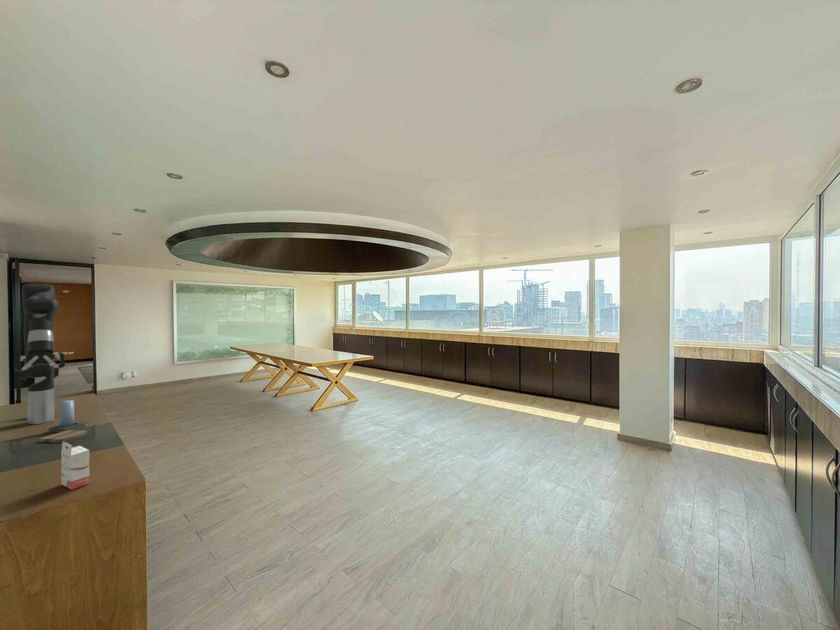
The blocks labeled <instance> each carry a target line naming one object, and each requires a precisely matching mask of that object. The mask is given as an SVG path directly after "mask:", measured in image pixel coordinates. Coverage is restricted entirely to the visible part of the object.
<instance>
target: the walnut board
mask: <svg viewBox="0 0 840 630" xmlns="http://www.w3.org/2000/svg"><path fill="white" fill-rule="evenodd" d="M84 434H85V435H87V434H88V431H87V430H77V429H75V430H65V431H62V432H54V433H52V434H49V435H46V436H44V437H40V438H38V442H39V443H59V442H62V443H63V442H64V441H65V442H68V441H70V439H71V440H73V438H74V439H77V438H79V437H82V436H85V435H84ZM81 435H82V436H81ZM67 440H68V441H67Z"/></svg>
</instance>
